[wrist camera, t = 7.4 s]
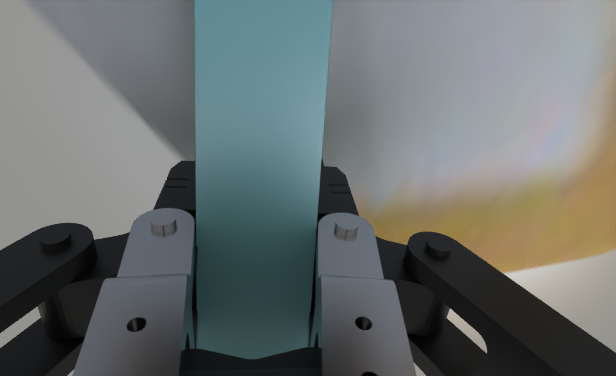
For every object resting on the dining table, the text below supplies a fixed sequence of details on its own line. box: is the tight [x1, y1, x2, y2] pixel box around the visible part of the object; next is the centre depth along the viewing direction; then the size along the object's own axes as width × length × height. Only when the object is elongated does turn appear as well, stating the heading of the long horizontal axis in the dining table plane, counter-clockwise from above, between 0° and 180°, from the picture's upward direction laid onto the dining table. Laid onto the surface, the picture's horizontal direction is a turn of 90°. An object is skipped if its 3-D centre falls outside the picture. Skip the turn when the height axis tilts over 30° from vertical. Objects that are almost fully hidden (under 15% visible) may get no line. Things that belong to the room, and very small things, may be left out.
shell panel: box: [195, 0, 333, 359], centre depth 11 cm, size 14×2×6 cm, turn 174°
